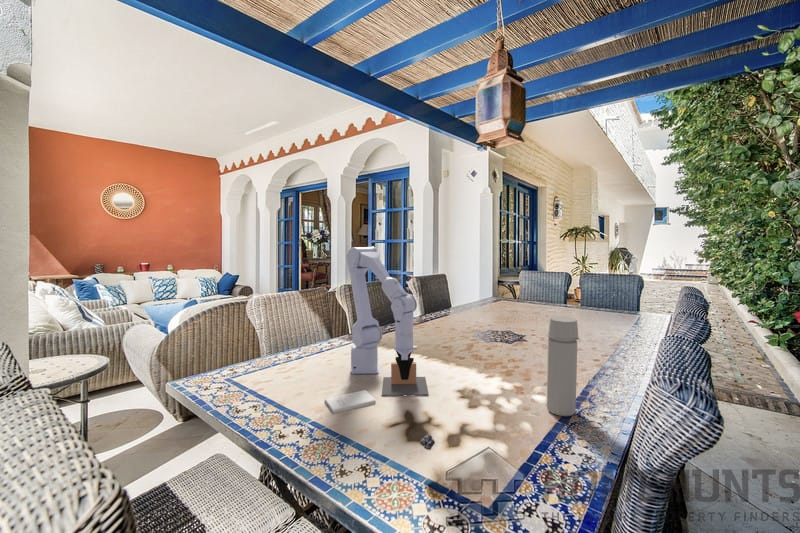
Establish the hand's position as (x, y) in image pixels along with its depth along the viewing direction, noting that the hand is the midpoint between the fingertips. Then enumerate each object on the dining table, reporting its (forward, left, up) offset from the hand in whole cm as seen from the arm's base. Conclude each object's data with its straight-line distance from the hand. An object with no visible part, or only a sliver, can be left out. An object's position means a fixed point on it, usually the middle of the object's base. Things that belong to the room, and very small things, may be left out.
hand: (404, 374), depth 116 cm
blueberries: (+5, -34, -4) cm, 35 cm away
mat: (0, -2, -3) cm, 4 cm away
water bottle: (+42, -19, -3) cm, 46 cm away
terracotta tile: (0, 0, -3) cm, 3 cm away
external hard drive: (-16, -13, -4) cm, 21 cm away
